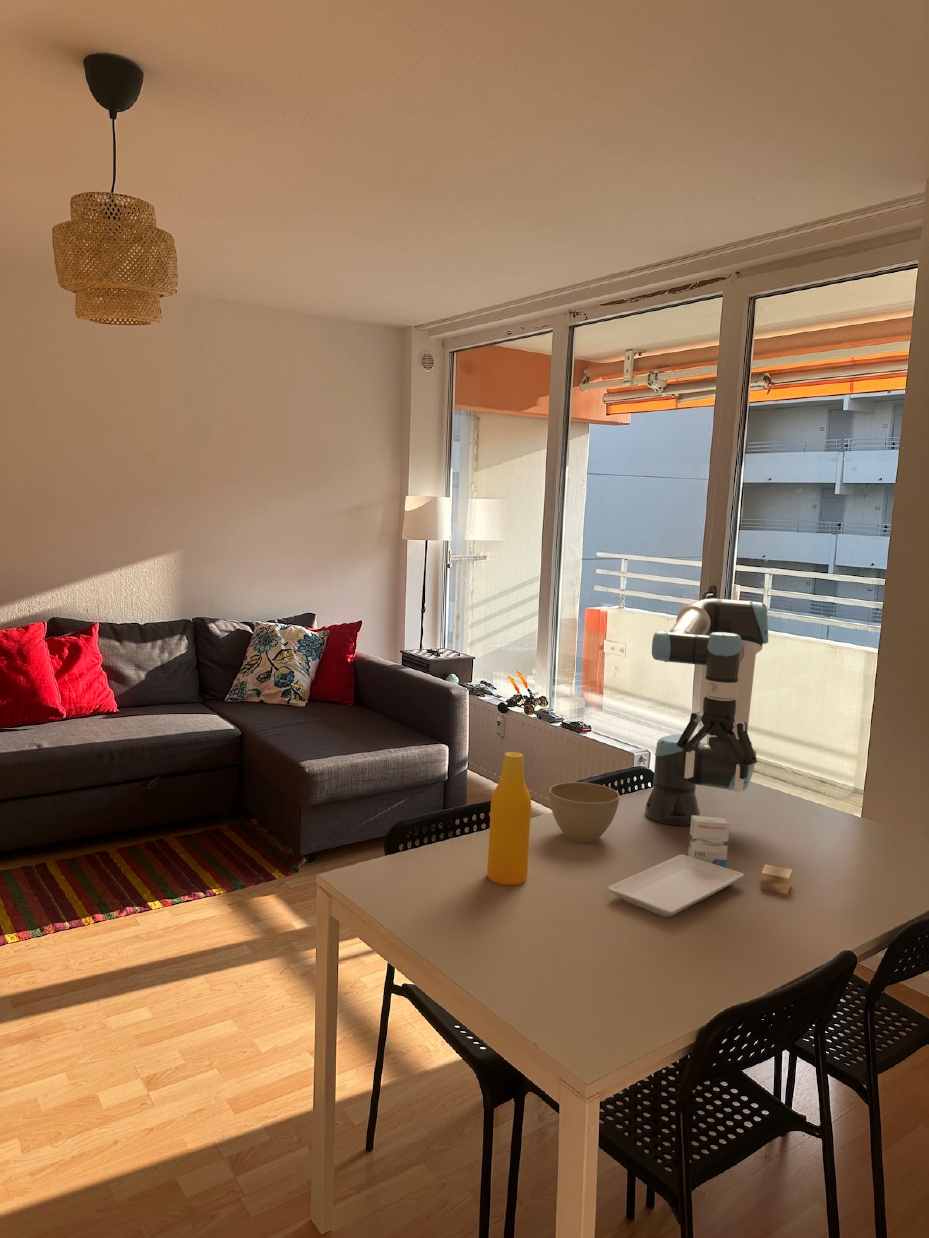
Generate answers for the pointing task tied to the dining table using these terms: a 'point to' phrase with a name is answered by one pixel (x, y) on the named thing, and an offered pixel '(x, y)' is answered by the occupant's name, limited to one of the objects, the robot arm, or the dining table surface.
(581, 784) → the beige round bowl
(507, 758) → the beer bottle
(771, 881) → the oak block
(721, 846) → the ink box
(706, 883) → the tray
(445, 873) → the dining table surface
